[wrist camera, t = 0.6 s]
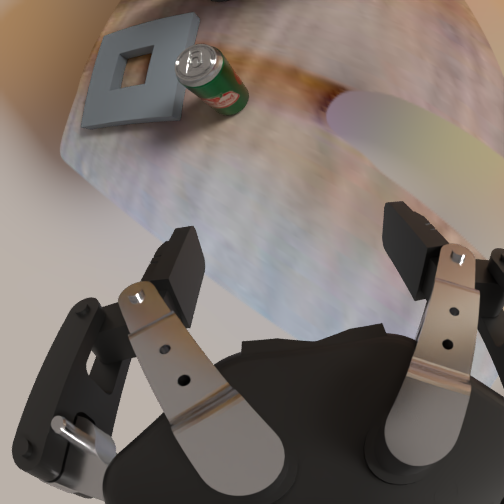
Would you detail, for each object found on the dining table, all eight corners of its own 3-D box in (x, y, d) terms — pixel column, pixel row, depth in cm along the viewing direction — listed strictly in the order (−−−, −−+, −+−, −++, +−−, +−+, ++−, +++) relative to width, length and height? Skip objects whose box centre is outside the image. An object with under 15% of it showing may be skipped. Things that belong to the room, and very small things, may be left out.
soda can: (213, 119, 34) (170, 89, 22) (212, 86, 33) (171, 48, 21) (251, 113, 32) (220, 77, 21) (248, 80, 32) (219, 35, 20)
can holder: (111, 40, 34) (103, 36, 32) (200, 19, 31) (194, 11, 28) (90, 129, 38) (80, 127, 36) (180, 120, 34) (171, 116, 32)
